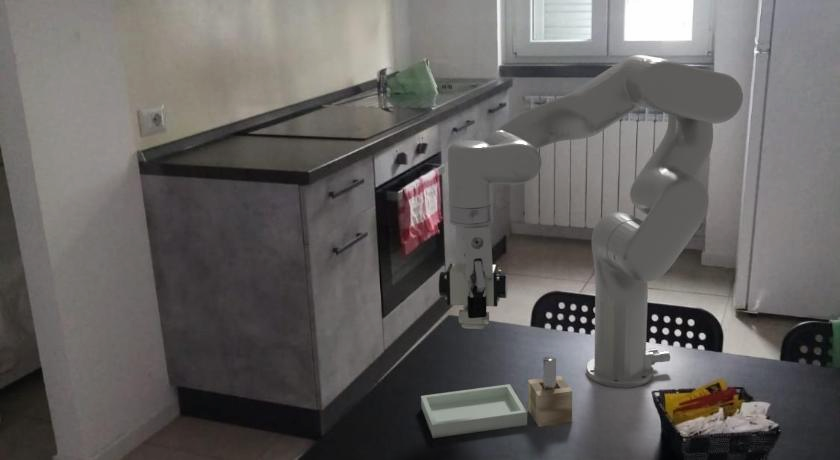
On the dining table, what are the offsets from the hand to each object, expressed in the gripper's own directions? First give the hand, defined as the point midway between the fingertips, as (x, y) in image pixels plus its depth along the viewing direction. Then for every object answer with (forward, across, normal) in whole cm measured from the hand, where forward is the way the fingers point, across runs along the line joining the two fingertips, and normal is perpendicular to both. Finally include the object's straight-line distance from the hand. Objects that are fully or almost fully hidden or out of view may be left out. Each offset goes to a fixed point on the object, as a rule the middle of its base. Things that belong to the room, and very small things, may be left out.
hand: (473, 309), depth 154 cm
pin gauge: (+18, -10, -11) cm, 23 cm away
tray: (+18, -6, +2) cm, 19 cm away
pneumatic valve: (+3, 0, 0) cm, 3 cm away
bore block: (+18, -10, -11) cm, 23 cm away
